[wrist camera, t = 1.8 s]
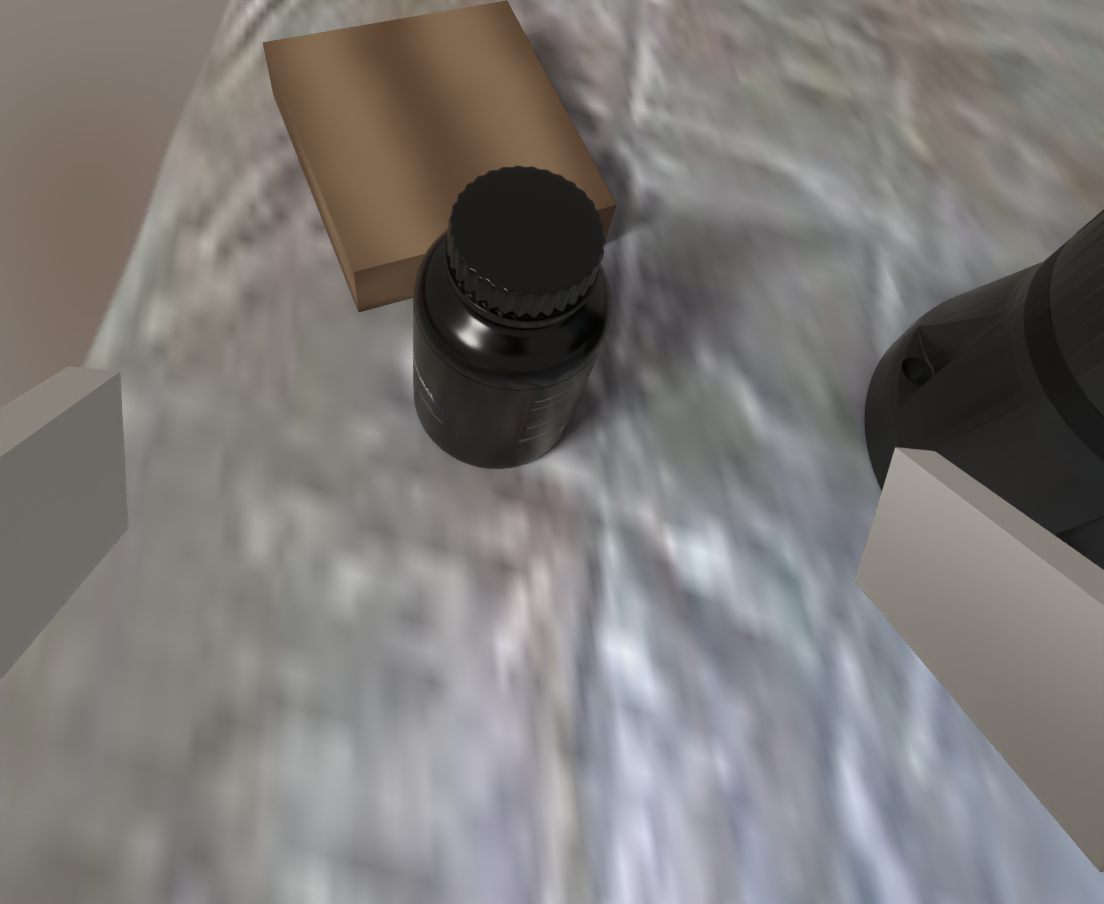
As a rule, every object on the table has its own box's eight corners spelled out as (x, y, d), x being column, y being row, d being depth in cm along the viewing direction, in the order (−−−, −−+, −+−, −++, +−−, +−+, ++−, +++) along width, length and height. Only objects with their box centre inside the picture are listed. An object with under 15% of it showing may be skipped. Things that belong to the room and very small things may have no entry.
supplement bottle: (378, 404, 35) (361, 220, 24) (485, 305, 38) (513, 99, 27) (503, 508, 34) (543, 366, 23) (603, 399, 37) (682, 225, 26)
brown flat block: (501, 50, 44) (507, 0, 41) (602, 246, 40) (616, 204, 37) (273, 94, 40) (262, 42, 38) (358, 312, 36) (353, 271, 34)
